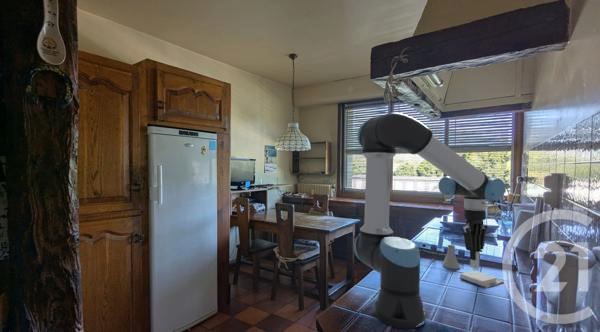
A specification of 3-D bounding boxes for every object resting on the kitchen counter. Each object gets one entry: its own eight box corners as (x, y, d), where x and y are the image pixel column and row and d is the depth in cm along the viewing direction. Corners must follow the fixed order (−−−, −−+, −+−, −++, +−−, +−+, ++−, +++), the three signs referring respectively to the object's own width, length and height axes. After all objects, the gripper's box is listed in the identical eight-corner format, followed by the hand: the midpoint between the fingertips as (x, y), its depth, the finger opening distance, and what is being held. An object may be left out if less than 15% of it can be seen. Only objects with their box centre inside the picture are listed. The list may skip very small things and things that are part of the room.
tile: (482, 281, 112) (496, 277, 115) (460, 273, 120) (474, 270, 124) (482, 285, 112) (496, 281, 115) (460, 277, 120) (474, 274, 124)
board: (486, 287, 111) (486, 286, 111) (459, 277, 121) (459, 276, 121) (503, 283, 116) (503, 281, 116) (476, 273, 126) (476, 272, 126)
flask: (463, 269, 130) (463, 247, 130) (447, 269, 131) (447, 247, 131) (454, 264, 138) (455, 243, 138) (439, 264, 138) (439, 243, 138)
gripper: (473, 211, 110) (473, 273, 110) (494, 209, 116) (494, 267, 116) (455, 208, 117) (455, 266, 117) (476, 206, 123) (476, 262, 123)
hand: (474, 267), depth 117 cm, fingers closed
